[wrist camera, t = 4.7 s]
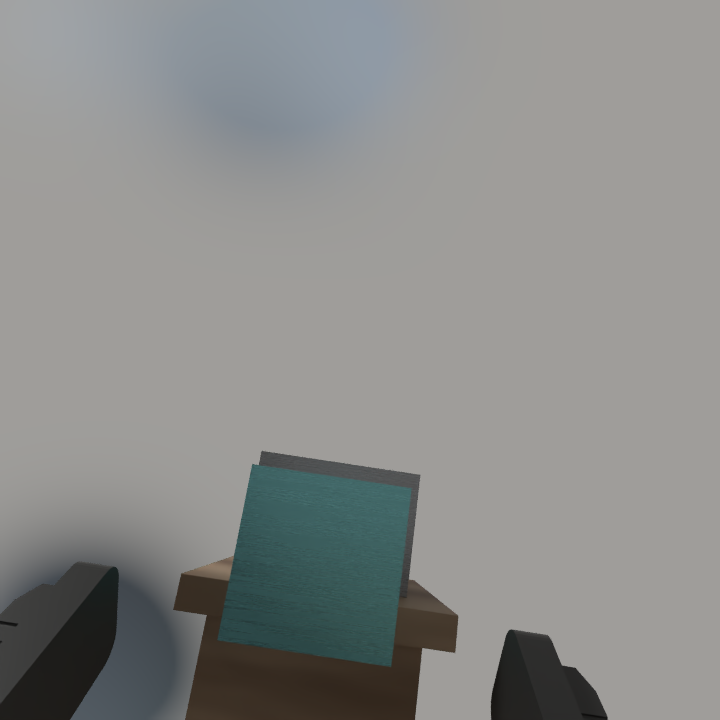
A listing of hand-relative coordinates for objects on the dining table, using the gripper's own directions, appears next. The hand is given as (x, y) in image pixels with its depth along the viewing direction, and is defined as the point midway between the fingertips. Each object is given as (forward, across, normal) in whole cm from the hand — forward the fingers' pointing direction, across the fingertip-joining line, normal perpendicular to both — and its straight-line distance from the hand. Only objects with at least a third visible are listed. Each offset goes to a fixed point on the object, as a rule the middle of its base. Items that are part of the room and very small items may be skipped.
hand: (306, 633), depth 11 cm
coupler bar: (+8, 0, +5) cm, 10 cm away
